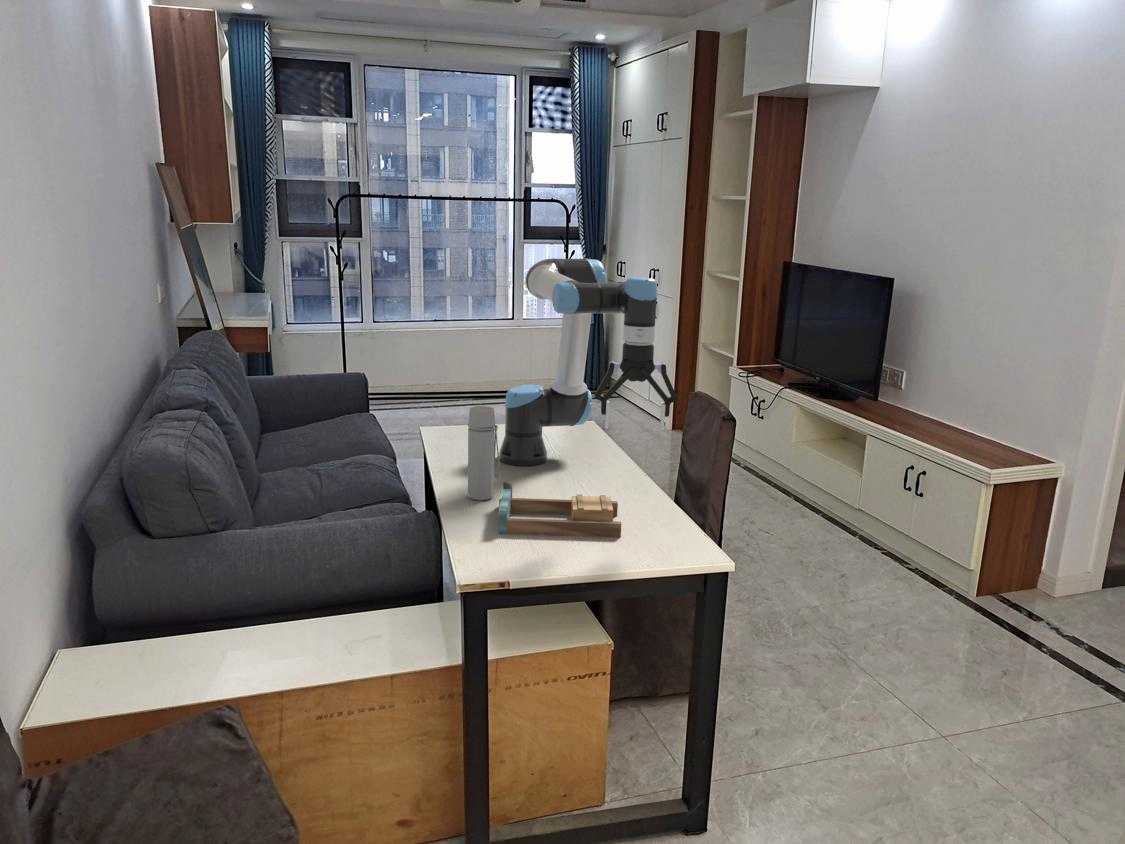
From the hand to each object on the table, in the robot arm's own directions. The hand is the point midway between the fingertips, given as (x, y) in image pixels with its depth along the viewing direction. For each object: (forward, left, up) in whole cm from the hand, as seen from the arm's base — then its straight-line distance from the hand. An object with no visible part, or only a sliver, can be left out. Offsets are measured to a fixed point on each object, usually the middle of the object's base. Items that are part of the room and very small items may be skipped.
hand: (634, 428), depth 205 cm
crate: (0, -10, -26) cm, 28 cm away
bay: (-2, -18, -26) cm, 31 cm away
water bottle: (-18, -39, -26) cm, 50 cm away
